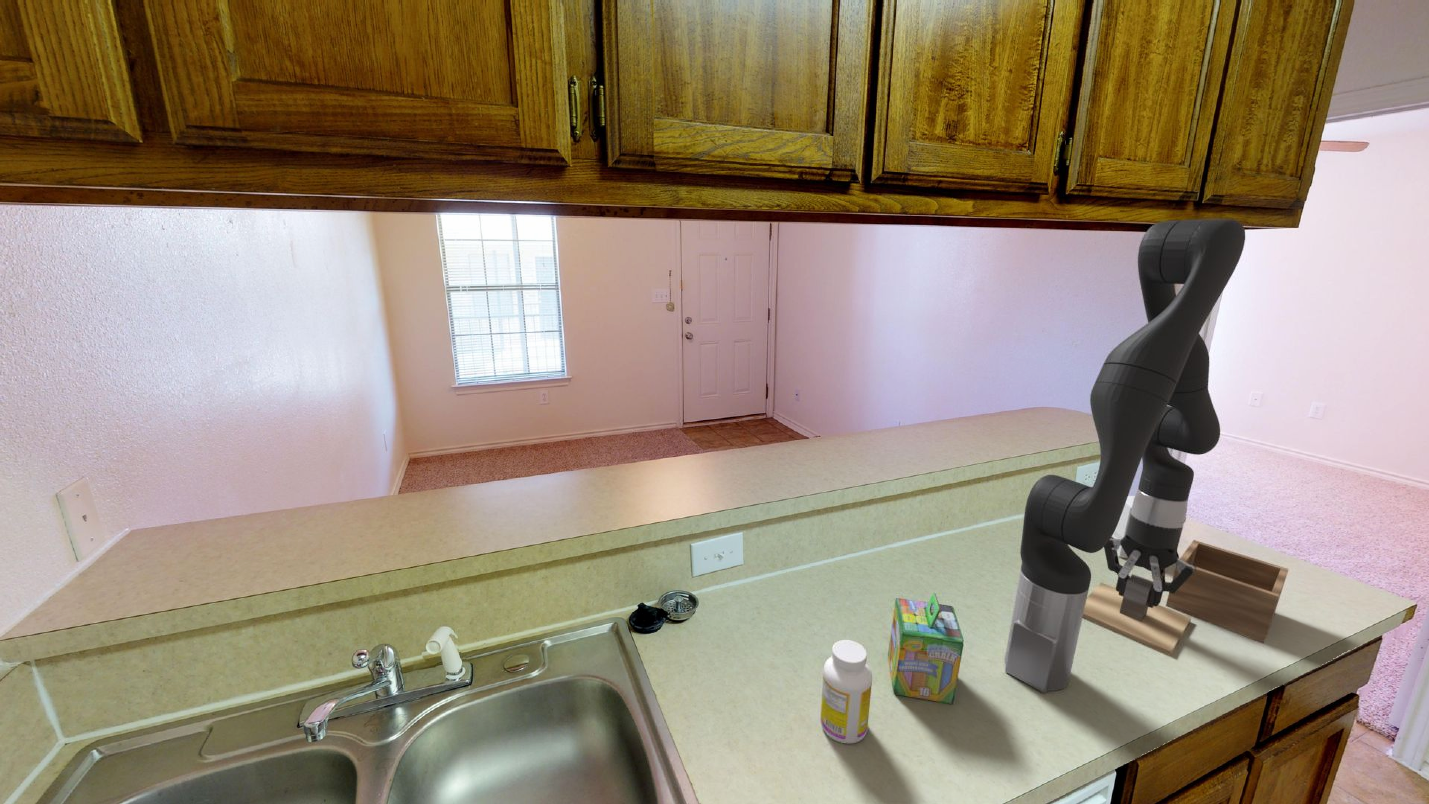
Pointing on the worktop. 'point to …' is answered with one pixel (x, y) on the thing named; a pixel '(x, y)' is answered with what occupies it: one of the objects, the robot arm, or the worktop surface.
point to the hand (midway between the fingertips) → (1136, 599)
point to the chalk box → (925, 650)
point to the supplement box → (1123, 525)
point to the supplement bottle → (846, 693)
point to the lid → (1136, 615)
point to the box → (1229, 590)
